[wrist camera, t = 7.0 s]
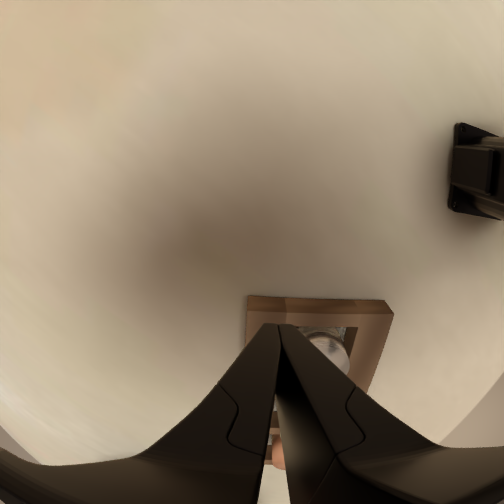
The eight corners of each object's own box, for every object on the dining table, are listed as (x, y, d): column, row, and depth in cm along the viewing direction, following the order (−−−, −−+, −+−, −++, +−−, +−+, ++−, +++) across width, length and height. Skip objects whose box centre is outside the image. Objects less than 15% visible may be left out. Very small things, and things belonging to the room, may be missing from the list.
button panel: (384, 300, 20) (394, 313, 18) (331, 448, 27) (334, 461, 25) (248, 295, 20) (247, 310, 18) (240, 448, 27) (239, 463, 25)
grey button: (345, 321, 20) (355, 346, 17) (334, 364, 22) (342, 390, 19) (290, 320, 20) (294, 346, 17) (283, 364, 22) (286, 391, 19)
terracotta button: (315, 425, 24) (319, 449, 21) (308, 446, 26) (311, 469, 23) (273, 425, 24) (274, 450, 21) (269, 447, 26) (270, 470, 23)
